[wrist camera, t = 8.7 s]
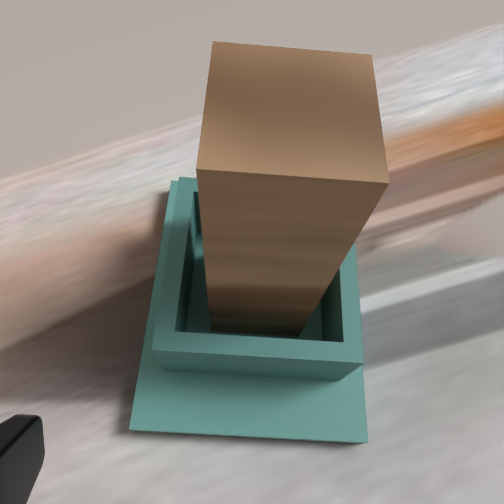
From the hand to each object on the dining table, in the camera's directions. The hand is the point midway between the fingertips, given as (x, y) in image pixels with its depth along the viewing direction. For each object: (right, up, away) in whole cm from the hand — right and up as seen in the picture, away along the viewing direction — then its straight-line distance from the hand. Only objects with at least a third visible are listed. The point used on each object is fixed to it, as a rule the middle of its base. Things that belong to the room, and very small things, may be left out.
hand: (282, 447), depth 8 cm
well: (0, +1, +15) cm, 15 cm away
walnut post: (0, +2, +14) cm, 14 cm away
